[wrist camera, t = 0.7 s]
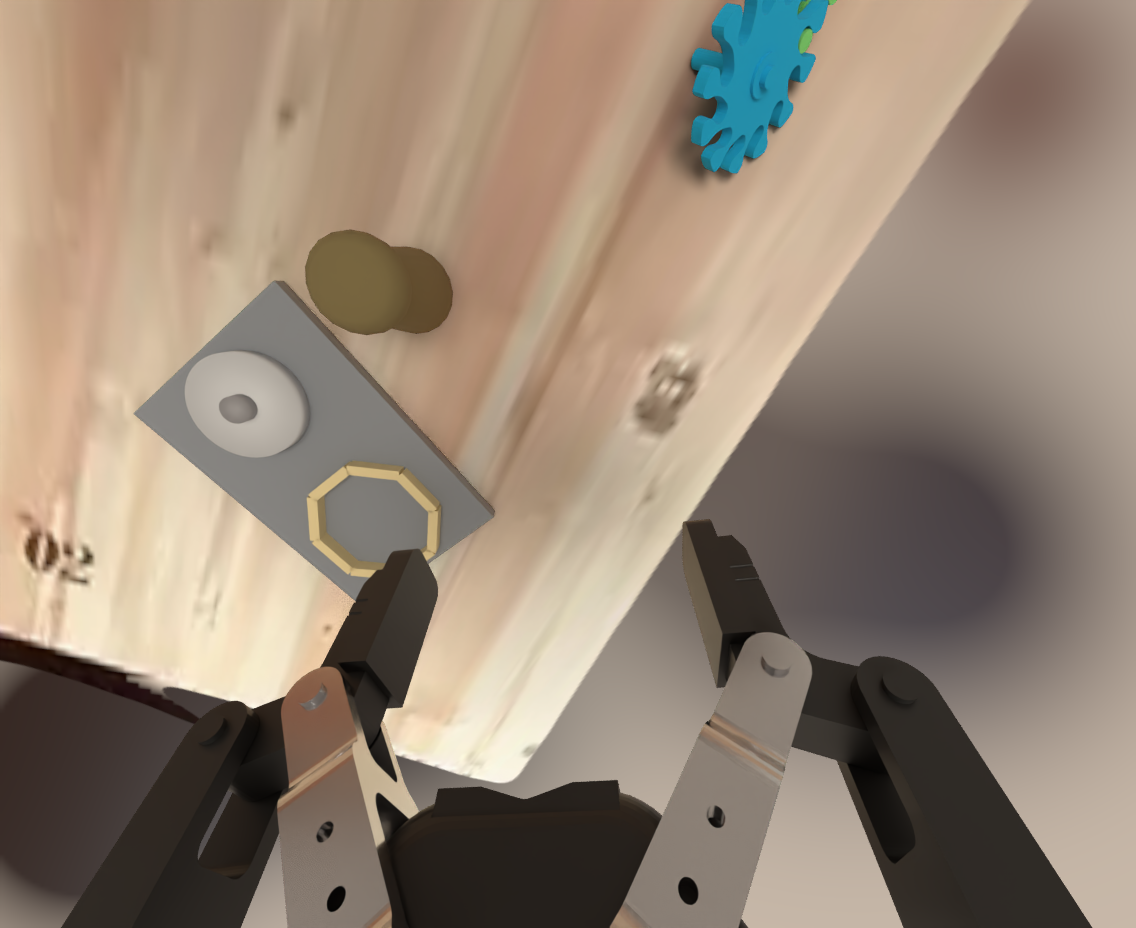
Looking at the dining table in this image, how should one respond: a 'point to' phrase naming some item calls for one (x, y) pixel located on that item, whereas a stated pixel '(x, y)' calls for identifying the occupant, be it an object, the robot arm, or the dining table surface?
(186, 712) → the dining table surface
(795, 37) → the blue irregular piece
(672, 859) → the robot arm
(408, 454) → the board
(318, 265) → the cork
